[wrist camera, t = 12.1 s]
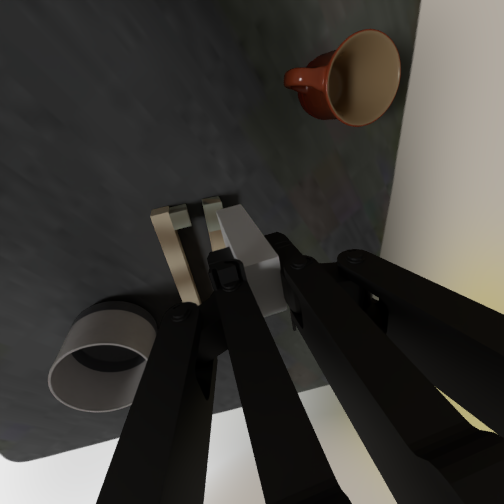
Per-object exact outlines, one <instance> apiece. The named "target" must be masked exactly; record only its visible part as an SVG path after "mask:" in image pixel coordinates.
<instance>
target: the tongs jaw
mask: <svg viewBox="0 0 504 504" xmlns="http://www.w3.org/2000/svg"><path fill="white" fill-rule="evenodd" d="M202 204H203V209H204V214H205V219H206V223H207V227H208V232H209V236H210V241H211V246H212V251H216V250H219V249H223V248H226V246H225V243H224V239H223V235H222V232H221V228H220V224H219V220H218V217H217V213H216V211H217V210H220V209H223V207H222V202H221V200H220V198H219V196H216V197H211V198H205V199H202Z"/></svg>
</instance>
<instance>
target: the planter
mask: <svg viewBox="0 0 504 504" xmlns="http://www.w3.org/2000/svg"><path fill="white" fill-rule="evenodd" d="M157 332H158V328H157V324H156V321H155V319H154V318H153V317H152V315H151V314H150V313H149V312H148V311H146V310H145V309H143V308H142V307H140V306H138V305H136V304H133V303H129V302H124V301H107V302H102V303H98V304H95V305H93V306H91V307H89V308H87V309H85V310H84V311H83V312H81V313H80V314H79V315H78V316H77V318H76V319H75V321H74V322H73V324H72V326H71V328H70V330H69V333H68V335H67V337H66V339H65V341H64V343H63V345H62V347H61V349H60V351H59V353H58V355H57V357H56V359H55V361H54V363H53V365H52V367H51V369H50V372H49V375H48V385H49V388H50V391H51V392H52V394H53V395H54V397H55V398H56V399H57V400H59V401H60V402H61V403H63V404H65V405H66V406H68V407H71V408H73V409H77V410H81V411H86V412H109V411H114V410H118V409H122V408H125V407H127V406H130V405H132V402H133V399H134V396H135V394H136V391H137V388H138V385H139V382H140V380H141V377H142V374H143V371H144V368H145V366H146V363H147V360H148V357H149V355H150V352H151V349H152V346H153V343H154V341H155V338H156V335H157Z"/></svg>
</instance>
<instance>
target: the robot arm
mask: <svg viewBox="0 0 504 504" xmlns="http://www.w3.org/2000/svg"><path fill="white" fill-rule="evenodd" d="M216 213H217V217H218V220H219V224H220V228H221V232H222V235H223V239H224V243H225V246H226V248H223V249H219V250H216V251H212V252H210V253H209V255H208V258H207V260H208V264H209V268H210V269H209V273H208V274H209V277H210V280H211V283H212V286H213V289H214V292H213V294H212V295H211V297H210V298H209V299H208V300H206V301H205V302H203V303H202V304H200V305H197V304H196V303H193V302H183V303H179V304H177V305H175V306H173V307H171V308H170V309H169V310H168V311H167V312H166V313H165V315H164V316H163V318H162V321H161V324H160V327H159V330H158V332H157V335H156V338H155V341H154V343H153V346H152V349H151V352H150V355H149V357H148V360H147V363H146V366H145V368H144V371H143V374H142V377H141V380H140V382H139V385H138V388H137V391H136V394H135V396H134V399H133V402H132V405H131V407H130V410H129V413H128V416H127V419H126V421H125V424H124V427H123V430H122V433H121V435H120V438H119V441H118V444H117V447H116V449H115V452H114V455H113V458H112V461H111V463H110V466H109V469H108V471H107V474H106V477H105V480H104V483H103V486H102V488H101V491H100V494H99V497H98V499H97V502H96V504H203V501H204V492H205V482H206V472H207V462H208V461H207V460H208V452H209V451H208V450H209V442H210V431H211V421H212V411H213V401H214V391H215V381H216V371H217V361H218V360H217V356H218V355H220V354H221V353H223V352H224V351H226V350H227V349H228V350H229V354H230V358H231V363H232V367H233V371H234V375H235V379H236V383H237V387H238V391H239V396H240V400H241V404H242V408H243V412H244V416H245V420H246V424H247V428H248V432H249V437H250V441H251V445H252V448H253V453H254V457H255V461H256V465H257V469H258V474H259V478H260V481H261V486H262V490H263V494H264V498H265V503H266V504H352V503H351V501H350V500H349V498H348V497H347V496H346V494H345V493H344V492H343V491H342V490H341V488H340V486H339V484H338V482H337V480H336V478H335V476H334V474H333V471H332V469H331V467H330V465H329V463H328V461H327V458H326V456H325V454H324V451H323V449H322V447H321V445H320V442H319V440H318V438H317V436H316V433H315V431H314V429H313V427H312V424H311V422H310V420H309V418H308V416H307V413H306V411H305V409H304V407H303V405H302V402H301V400H300V398H299V395H298V393H297V391H296V389H295V386H294V384H293V382H292V380H291V378H290V375H289V373H288V371H287V369H286V366H285V364H284V362H283V360H282V357H281V355H280V353H279V351H278V348H277V346H276V344H275V342H274V339H273V337H272V335H271V333H270V331H269V328H268V326H267V324H266V322H265V319H264V317H267V316H270V315H273V314H276V313H279V312H282V311H285V310H287V306H286V302H287V304H288V305H289V307H290V313H291V319H292V326H293V330H294V331H295V330H296V326H297V328H298V330H299V331H300V333H301V335H302V337H303V338H304V340H305V342H306V344H307V345H308V347H309V349H310V351H311V353H312V354H313V356H314V358H315V360H316V361H317V363H318V365H319V367H320V368H321V370H322V372H323V374H324V375H325V377H326V379H327V381H328V382H329V384H330V386H331V388H332V389H333V391H334V393H335V395H336V396H337V398H338V400H339V402H340V403H341V405H342V407H343V409H344V410H345V412H346V414H347V416H348V417H349V419H350V421H351V423H352V424H353V426H354V428H355V430H356V431H357V433H358V435H359V437H360V439H361V440H362V442H363V444H364V445H365V447H366V449H367V451H368V453H369V454H370V456H371V458H372V459H373V461H374V463H375V465H376V466H377V468H378V470H379V472H380V473H381V475H382V477H383V479H384V481H385V482H386V484H387V486H388V488H389V489H390V491H391V493H392V495H393V496H394V498H395V500H396V502H397V504H504V315H503V314H501V313H499V312H497V311H495V310H493V309H490V308H488V307H486V306H484V305H482V304H480V303H478V302H475V301H473V300H471V299H469V298H467V297H465V296H462V295H460V294H458V293H456V292H454V291H452V290H449V289H447V288H445V287H443V286H441V285H439V284H436V283H434V282H432V281H430V280H428V279H426V278H423V277H421V276H419V275H417V274H415V273H413V272H411V271H408V270H406V269H404V268H402V267H400V266H397V265H395V264H393V263H391V262H389V261H387V260H385V259H382V258H380V257H378V256H376V255H374V254H372V253H369V252H367V251H364V250H359V249H352V250H346V251H343V252H342V253H340V254H339V255H338V257H337V262H333V263H318V262H317V261H316V260H315V259H314V258H312V257H310V256H306V255H302V254H301V253H300V252H299V250H298V249H297V248H296V247H295V246H294V245H293V244H292V243H291V241H290V240H289V239H288V238H287V237H286V236H285V235H284V234H281V233H279V232H275V233H272V234H268V235H265V236H264V235H263V234H262V233H261V231H260V230H259V229H258V227H257V226H256V224H255V223H254V222H253V220H252V219H251V217H250V216H249V215H248V213H247V212H246V211H245V209H244V208H243V206H242V205H241V204H239V205H235V206H231V207H228V208H224V209H220V210H217V211H216ZM372 294H374V295H375V296H377V297H379V301H378V300H375V299H374V298H372ZM295 325H296V326H295ZM436 387H437V388H438V389H439V390H441V391H442V392H443V393H444V394H446V395H447V396H448V397H450V398H451V399H452V400H454V401H455V402H456V403H458V404H459V405H460V406H461V407H463V408H464V409H465V410H467V411H468V412H469V413H471V414H472V415H473V416H475V417H476V418H477V419H479V420H480V421H481V422H482V423H484V424H485V425H486V426H488V427H489V428H490V429H492V430H493V431H494V432H496V433H497V434H498V435H497V434H496V433H494V432H488V431H482V430H479V429H477V428H475V427H474V426H472V425H471V424H470V423H469V422H468V421H467V420H466V419H465V418H464V417H463V416H462V415H461V414H460V413H459V412H458V411H457V410H456V409H455V408H454V406H453V405H452V404H450V402H449V401H448V400H447V399H446V398H445V397H444V396H443V395H442V394H441V393H440V392H439V391H438V389H436Z"/></svg>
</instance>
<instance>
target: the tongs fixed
mask: <svg viewBox="0 0 504 504" xmlns="http://www.w3.org/2000/svg"><path fill="white" fill-rule="evenodd" d="M150 217H151V220H152V223H153V225H154V228H155V231H156V233H157V236H158V238H159V241H160V244H161V246H162V249H163V252H164V254H165V257H166V260H167V262H168V265H169V267H170V270H171V273H172V275H173V278H174V281H175V283H176V286H177V289H178V291H179V294H180V296H181V299H182V302H193V303H196V304H197V305H200V304H202V303H201V300H200V297H199V294H198V291H197V288H196V285H195V282H194V279H193V276H192V274H191V271H190V268H189V265H188V262H187V259H186V256H185V253H184V250H183V247H182V244H181V241H180V238H179V235H178V232H177V229H181V228H185V227H189V226H191V220H190V216H189V213H188V210H187V206H186V204H182V205H178V206H174V207H170V208H169V206H166V207H162V208H157V209H153V210H152V211H151V215H150Z"/></svg>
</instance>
